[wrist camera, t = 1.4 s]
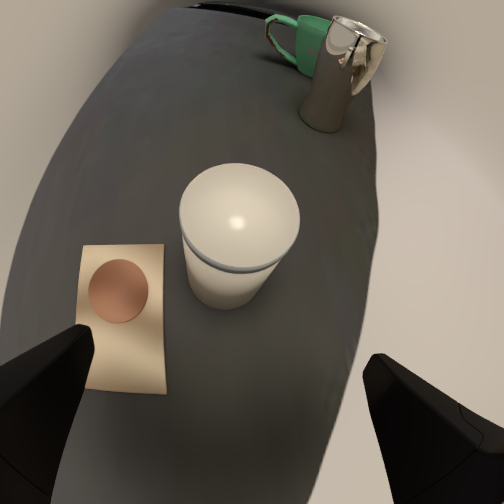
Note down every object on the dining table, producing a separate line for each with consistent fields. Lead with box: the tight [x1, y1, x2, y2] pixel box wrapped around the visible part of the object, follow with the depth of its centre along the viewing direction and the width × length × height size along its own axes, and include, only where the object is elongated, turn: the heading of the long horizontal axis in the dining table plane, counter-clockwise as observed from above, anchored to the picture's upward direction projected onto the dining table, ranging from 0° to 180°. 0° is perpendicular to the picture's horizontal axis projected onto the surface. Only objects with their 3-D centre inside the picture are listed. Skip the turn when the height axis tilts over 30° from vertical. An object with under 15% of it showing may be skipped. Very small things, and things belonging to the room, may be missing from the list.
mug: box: [265, 14, 331, 77], centre depth 34 cm, size 15×10×10 cm
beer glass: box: [299, 16, 388, 133], centre depth 26 cm, size 7×7×15 cm
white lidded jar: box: [179, 163, 300, 310], centre depth 18 cm, size 6×6×10 cm
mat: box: [76, 244, 167, 394], centre depth 19 cm, size 12×8×1 cm, turn 5°
